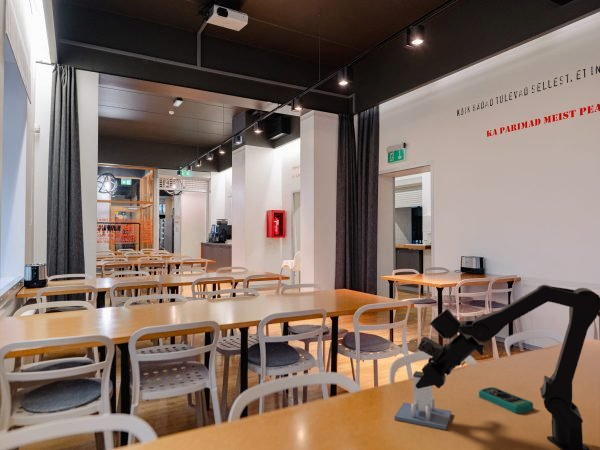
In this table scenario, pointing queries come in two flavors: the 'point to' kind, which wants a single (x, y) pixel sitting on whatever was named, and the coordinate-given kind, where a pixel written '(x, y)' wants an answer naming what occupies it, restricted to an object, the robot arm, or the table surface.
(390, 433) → the table surface
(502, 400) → the digital multimeter
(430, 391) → the plate
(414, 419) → the grey pegged base
